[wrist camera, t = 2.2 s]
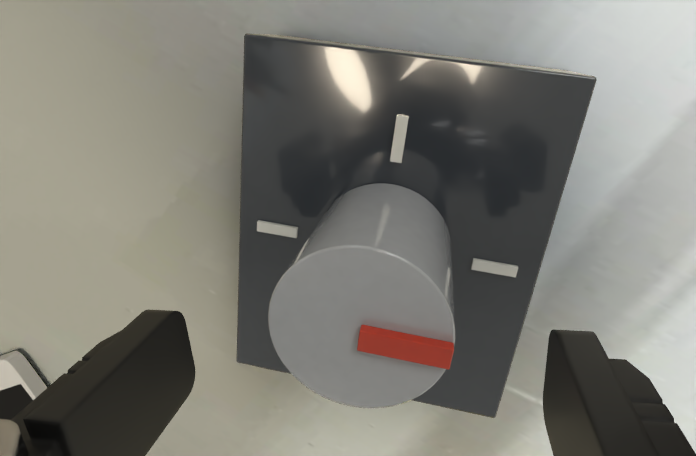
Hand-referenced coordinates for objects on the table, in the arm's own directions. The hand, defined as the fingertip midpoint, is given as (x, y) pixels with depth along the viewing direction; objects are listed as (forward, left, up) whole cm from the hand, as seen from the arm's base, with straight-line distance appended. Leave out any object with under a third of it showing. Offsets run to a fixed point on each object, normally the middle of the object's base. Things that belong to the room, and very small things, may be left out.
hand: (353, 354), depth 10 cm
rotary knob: (0, 0, -6) cm, 6 cm away
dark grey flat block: (0, 0, -9) cm, 9 cm away
